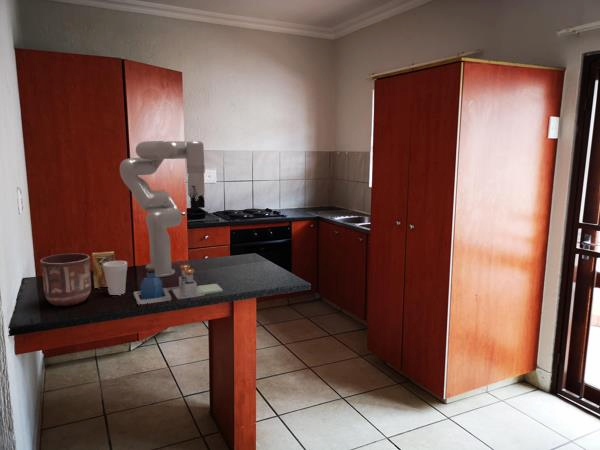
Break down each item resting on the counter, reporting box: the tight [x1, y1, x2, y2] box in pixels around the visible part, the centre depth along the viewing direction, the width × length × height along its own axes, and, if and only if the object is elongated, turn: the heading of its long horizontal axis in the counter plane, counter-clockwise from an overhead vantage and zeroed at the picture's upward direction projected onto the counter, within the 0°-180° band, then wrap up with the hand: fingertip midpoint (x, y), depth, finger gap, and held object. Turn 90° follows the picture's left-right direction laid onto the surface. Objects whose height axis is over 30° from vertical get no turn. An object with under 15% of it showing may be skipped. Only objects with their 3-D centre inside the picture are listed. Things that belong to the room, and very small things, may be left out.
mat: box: [197, 283, 224, 295], centre depth 199 cm, size 10×10×1 cm
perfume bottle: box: [140, 268, 164, 300], centre depth 187 cm, size 6×6×12 cm
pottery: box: [39, 252, 92, 307], centre depth 182 cm, size 18×18×18 cm
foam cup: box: [103, 260, 128, 296], centre depth 193 cm, size 10×9×13 cm
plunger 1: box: [179, 264, 191, 279], centre depth 197 cm, size 4×4×7 cm
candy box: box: [91, 251, 116, 289], centre depth 202 cm, size 9×4×15 cm, turn 110°
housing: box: [133, 275, 206, 306], centre depth 191 cm, size 26×14×6 cm, turn 116°
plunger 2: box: [184, 268, 195, 284], centre depth 190 cm, size 4×4×7 cm
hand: (198, 209), depth 204 cm, fingers open, 9 cm apart
